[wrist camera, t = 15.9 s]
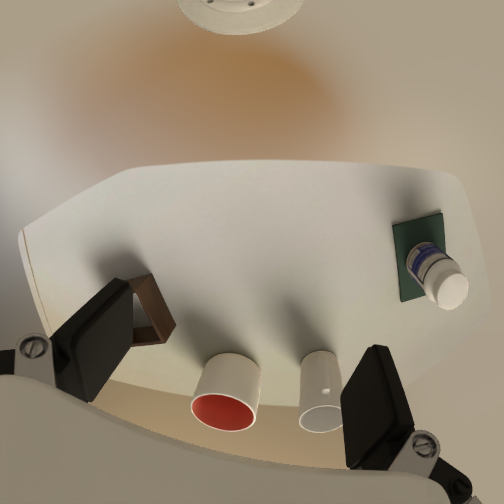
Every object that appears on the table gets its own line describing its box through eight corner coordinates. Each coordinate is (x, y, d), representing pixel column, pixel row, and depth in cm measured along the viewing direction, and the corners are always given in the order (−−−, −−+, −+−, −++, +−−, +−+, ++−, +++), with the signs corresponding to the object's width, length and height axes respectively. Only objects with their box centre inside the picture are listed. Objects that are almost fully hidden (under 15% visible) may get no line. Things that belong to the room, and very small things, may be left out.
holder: (108, 284, 45) (92, 298, 41) (152, 273, 43) (137, 288, 38) (132, 331, 48) (119, 348, 43) (176, 325, 46) (165, 343, 41)
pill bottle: (441, 269, 36) (473, 302, 27) (409, 283, 38) (435, 321, 29) (435, 234, 35) (470, 262, 26) (401, 249, 36) (429, 281, 27)
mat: (392, 225, 36) (393, 226, 35) (441, 212, 34) (442, 213, 34) (400, 300, 39) (401, 302, 39) (445, 287, 38) (446, 288, 37)
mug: (337, 377, 46) (343, 431, 35) (298, 378, 47) (297, 433, 36) (343, 331, 42) (354, 387, 31) (300, 333, 43) (300, 389, 32)
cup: (201, 379, 50) (186, 419, 41) (212, 341, 46) (195, 384, 37) (253, 395, 50) (245, 437, 41) (270, 360, 46) (264, 405, 37)
